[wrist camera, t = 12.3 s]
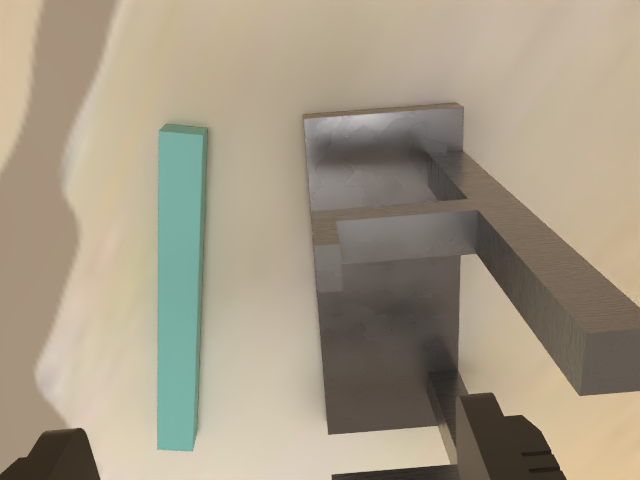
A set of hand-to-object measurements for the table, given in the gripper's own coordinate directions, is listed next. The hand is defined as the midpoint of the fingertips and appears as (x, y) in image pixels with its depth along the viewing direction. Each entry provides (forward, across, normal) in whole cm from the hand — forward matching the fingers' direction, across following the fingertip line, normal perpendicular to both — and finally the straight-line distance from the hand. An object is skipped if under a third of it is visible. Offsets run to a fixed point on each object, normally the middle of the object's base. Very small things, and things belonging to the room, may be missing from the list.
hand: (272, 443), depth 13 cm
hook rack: (+25, -5, +8) cm, 27 cm away
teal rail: (+25, +8, +8) cm, 27 cm away
